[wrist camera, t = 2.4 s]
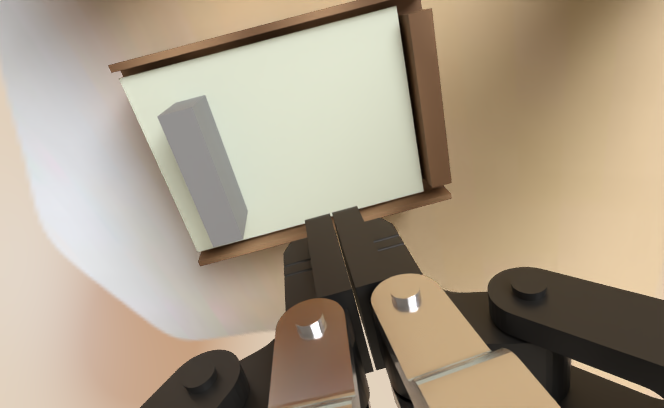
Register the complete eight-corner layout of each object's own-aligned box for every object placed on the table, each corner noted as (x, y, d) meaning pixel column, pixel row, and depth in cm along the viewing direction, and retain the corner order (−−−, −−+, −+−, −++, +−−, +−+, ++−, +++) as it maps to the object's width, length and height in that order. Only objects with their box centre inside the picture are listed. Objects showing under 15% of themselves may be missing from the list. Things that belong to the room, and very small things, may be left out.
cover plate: (393, 6, 21) (418, 1, 17) (420, 187, 25) (445, 215, 21) (123, 77, 20) (88, 88, 17) (199, 247, 25) (185, 286, 21)
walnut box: (393, -8, 25) (428, -19, 19) (419, 166, 30) (453, 200, 24) (146, 56, 25) (105, 66, 19) (214, 221, 30) (199, 269, 24)
